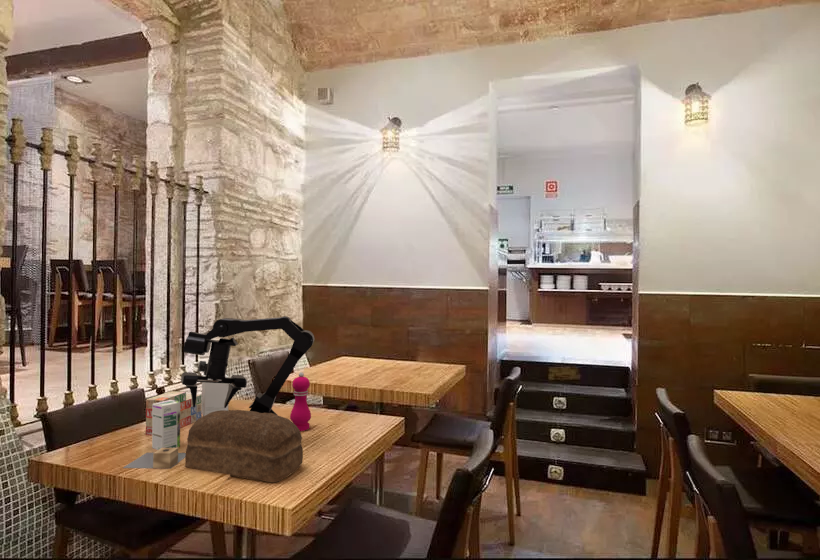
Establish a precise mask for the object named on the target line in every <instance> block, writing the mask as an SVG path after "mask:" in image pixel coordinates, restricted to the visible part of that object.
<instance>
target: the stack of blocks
mask: <svg viewBox="0 0 820 560" xmlns="http://www.w3.org/2000/svg"><path fill="white" fill-rule="evenodd" d="M168 400H175V401H178V402H180V429H181V428H183V427H186V426H188V425H191V424H194V423H195V422H196V421H197V420H198V419H199V418H201V417H202V394H197V396H196V404H195V407H193V403H192V397H191V393H189V394H188V393H187V392H186V391H175V390H174V391H172V390H171V391H168V392H165V393H162V394H159V395H156V396H153V397H150V398H147V399H146V401H145V402H146V404H145V406H146V407H145V436H152V404H153V403H158V402H163V401H168Z"/></svg>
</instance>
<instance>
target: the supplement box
mask: <svg viewBox="0 0 820 560" xmlns="http://www.w3.org/2000/svg"><path fill="white" fill-rule="evenodd" d="M201 376H206V375H204V374H202V375H201ZM225 377H227V378H230V376H228V374H225ZM208 380H211V379H208ZM228 387H229V384H227V383H206V382H201V403H202V408H201V415H202V417H203V416H205V415H207V414H209V413H211V412H215V411H220V410H226V411H228V410H229V404H228V405H227V407H226V408H224V404H225V399H226V396H227V392H228Z"/></svg>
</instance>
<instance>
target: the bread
mask: <svg viewBox="0 0 820 560" xmlns="http://www.w3.org/2000/svg"><path fill="white" fill-rule="evenodd" d="M276 414H277V413H276ZM276 414H273V413H259V412H255V411H250V410H243V409H242V410H241V409H231V410H229V409H228V411H226V410H220V411H215V412H211V413H209V414H207V415H205V416H203V415H202V416H201V418H199V419H198V420H197V421H195V422H193V423H192V425H191V426H190V428H189V430H188V433H187V434H188V435H187V438H186V439H187V446H186V449H185V453H186V456H185V458H184V459H185V463H184V464H185V467H186V468H189V469H196V470H201V471H206V472H213V473H219V474H225V475H229V476H231V477H235V478H241V479H242V478H243V479H249V480H250V479H251V480H255V481H264V482H266V483H277V482H279V481H281V480H284V479H285V478H287V477H289V476H290V475H292V474H293V473H294V472H296V471H297V470H298V469H299V468H300V467H301V465H302V463H303V459H304V456H303V455H304V448H303V445H302V440H303V436H302V433H301V431H300V430H299V429H298V428H297V426H296V425H295V424H294V423H293V422H292V421H291V419H290V418H287V417H283V416H280V415H278V414H277V415H276Z"/></svg>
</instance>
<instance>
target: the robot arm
mask: <svg viewBox="0 0 820 560" xmlns="http://www.w3.org/2000/svg"><path fill="white" fill-rule="evenodd" d="M272 330H273V331H274V330H282V331H284V332H285V334H286V335H287V336H288V337H289V338H290V339H292V340H293V343H292V345H291V347H290V351H289V353H288V356H286V359H285V360H284V362H283V364H282V365H281V367H280V369H279V370H278V371H277V373H276V374H275V376H274V377H273V379H272V381H271V383H270V385H268V388H267V389H266V391H265V392H264V393H261V392H258V393H257V395H256V396H255V397H254V400H253V402H252V403H251V404H250V405H249V407H248V408H249V411H255V412H259V413H273V414H276V415H278V413H277V412H275V411H274V410H273V406H274V403H275V401H276V398H277V395H278V394H279V393H280V391H281V389H282V388H283V386H284V385H285V383H286V382H287V380H288V378H289V376H290V375H291V373H292V372H293V370H294V368H295V367H296V366H297V364H298V362H299V360H301V358H302V357H303V356H304V355H305V354H306V353H307V352H308V351H309V350H310V349H311V347H312V346H313V345H314V342H315V335H314V333H313V332H312V331H311V330H308V329H307V330H306V329H304V328H303V327H302V326H300V325H299V324H297V323H296V322H295V321H293V320H292V319H291V317H288V316H286V315H285V316H281V317H280V316H278V317H269V318H268V317H267V318H255V319H253V318H252V319H242V318H241V319H240V318H234V317H232V318H230V317H224V318H220V319H218V320H216V321H215V322H214V323H213V325H212V329H210V330H209V331H208V332H207V333H200V332H196V331H189V332H188V335H187V336H186V339H185V342H184V344H183V353H184V354H190V355H196V356H197V355H198V356H203V357H204V356H205V354H208V353H209V355H208V360H207V361H206V360H200V361H199V362H198V368H197V371H198V372H199V373H200V372H203V375H206V376H202V375H198V374H197V372H191V371H190V372H188V371H184V372H182V374H181V377H180V382H181V385H184V386H185V387H186V388H187V389H189V391H190V394H191V397H192V403H193V407H195V404H196V396H197V395H198V394H197V393H198V385H197V384H198V383H202V382H206V383H227V384H229V387H228V392H227V396H226V399H225V404H224V408H226V407H227V405H228V406H229V403H230V402H231V401H232V399H233V398H234V396H235V395H236V394H237V392H238V391H242V388H244V389H245V388H247V385H248V380H247V378H246V377H245V376H244V375H239V374H232V375H231V376H230V377H229V378H227V377H225V374H226V373H227V367H228V363H229V358H230V353H231V347H235V346H238V345H239V342H237V341H236V338H235V337H231V338H227V337H230V336H235V335H239V334H243V333H248V332H261V331H272ZM215 338H219V339H218V340H216V339H215ZM226 375H227V374H226ZM208 379H211V380H208Z"/></svg>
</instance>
